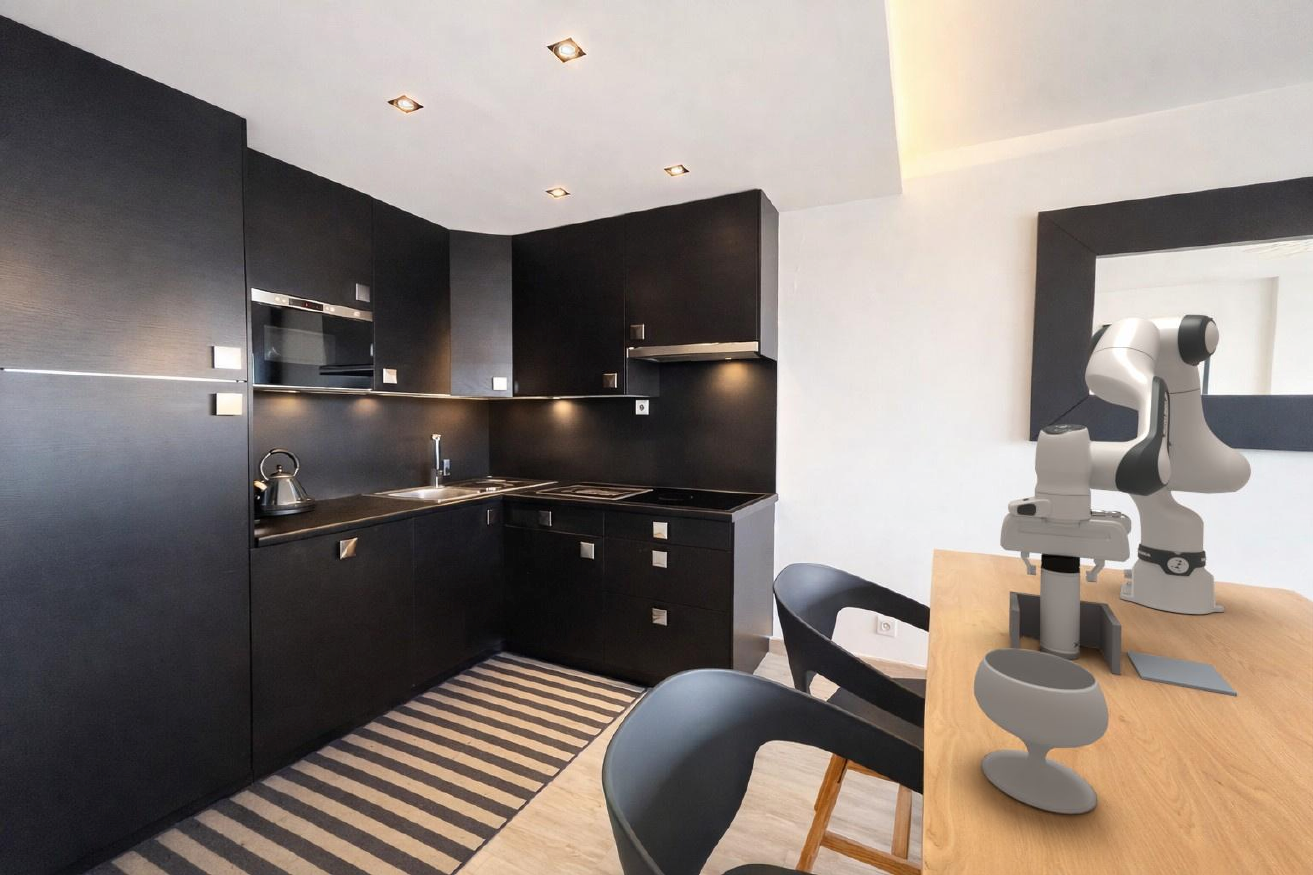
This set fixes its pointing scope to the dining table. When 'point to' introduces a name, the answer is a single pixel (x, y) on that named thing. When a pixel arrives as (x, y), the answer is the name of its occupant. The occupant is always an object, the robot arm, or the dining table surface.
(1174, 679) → the mat
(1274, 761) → the dining table surface
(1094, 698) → the chalice
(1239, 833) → the dining table surface
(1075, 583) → the travel mug
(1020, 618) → the grey u-shaped channel
